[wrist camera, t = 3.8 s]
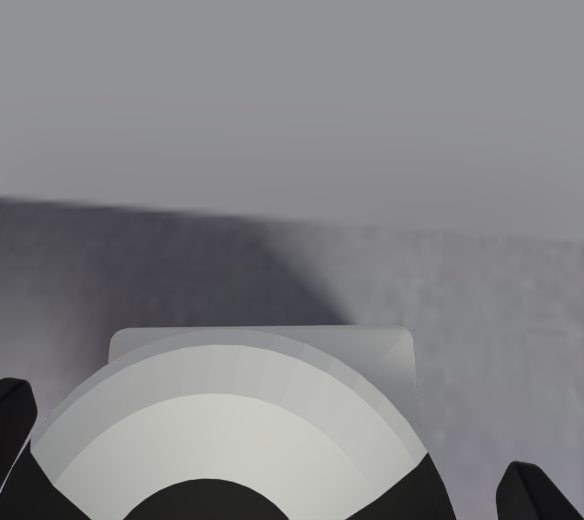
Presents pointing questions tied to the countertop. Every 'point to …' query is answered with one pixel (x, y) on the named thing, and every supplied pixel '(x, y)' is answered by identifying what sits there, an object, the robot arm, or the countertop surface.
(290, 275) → the countertop surface
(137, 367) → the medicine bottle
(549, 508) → the robot arm
